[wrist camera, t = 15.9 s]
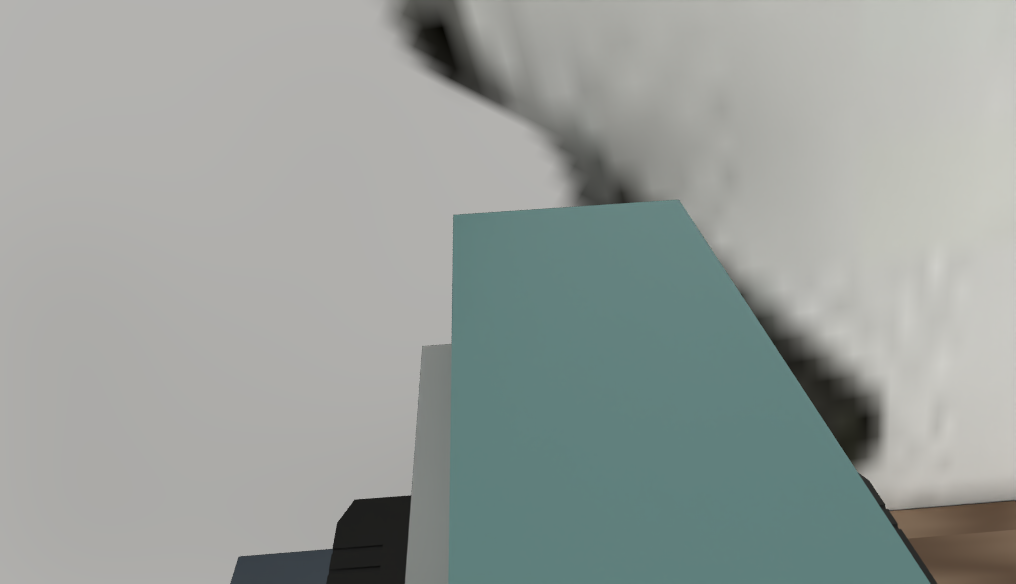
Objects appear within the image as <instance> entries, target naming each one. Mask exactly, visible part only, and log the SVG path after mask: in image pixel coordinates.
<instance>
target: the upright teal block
mask: <svg viewBox="0 0 1016 584" xmlns="http://www.w3.org/2000/svg"><path fill="white" fill-rule="evenodd" d="M452 288H453V289H452V355H451V428H450V500H449V573H448V584H930V582H929V581H928V579H927V578H926V576H925V574H924V573H923V571H922V570H921V568H920V567H919V565H918V564H917V562H916V561H915V559H914V558H913V556H912V555H911V553H910V552H909V550H908V549H907V547H906V545H905V544H904V542H903V541H902V539H901V538H900V536H899V535H898V533H897V532H896V530H895V529H894V527H893V526H892V524H891V523H890V521H889V520H888V518H887V516H886V515H885V513H884V512H883V510H882V509H881V507H880V506H879V504H878V503H877V501H876V500H875V498H874V497H873V495H872V494H871V492H870V491H869V489H868V488H867V486H866V484H865V483H864V481H863V480H862V478H861V477H860V475H859V474H858V472H857V471H856V469H855V468H854V466H853V465H852V463H851V462H850V460H849V459H848V457H847V455H846V454H845V452H844V451H843V449H842V448H841V446H840V445H839V443H838V442H837V440H836V439H835V437H834V436H833V434H832V433H831V431H830V430H829V428H828V427H827V425H826V423H825V422H824V420H823V419H822V417H821V416H820V414H819V413H818V411H817V410H816V408H815V407H814V405H813V404H812V402H811V401H810V399H809V398H808V396H807V394H806V393H805V391H804V390H803V388H802V387H801V385H800V384H799V382H798V381H797V379H796V378H795V376H794V375H793V373H792V372H791V370H790V369H789V367H788V366H787V364H786V362H785V361H784V359H783V358H782V356H781V355H780V353H779V352H778V350H777V349H776V347H775V346H774V344H773V343H772V341H771V340H770V338H769V337H768V335H767V333H766V332H765V330H764V329H763V327H762V326H761V324H760V323H759V321H758V320H757V318H756V317H755V315H754V314H753V312H752V311H751V309H750V308H749V306H748V305H747V303H746V301H745V300H744V298H743V297H742V295H741V294H740V292H739V291H738V289H737V288H736V286H735V285H734V283H733V282H732V280H731V279H730V277H729V276H728V274H727V272H726V271H725V269H724V268H723V266H722V265H721V263H720V262H719V260H718V259H717V257H716V256H715V254H714V253H713V251H712V250H711V248H710V247H709V245H708V244H707V242H706V240H705V239H704V237H703V236H702V234H701V233H700V231H699V230H698V228H697V227H696V225H695V224H694V222H693V221H692V219H691V218H690V216H689V215H688V213H687V211H686V210H685V208H684V207H683V205H682V204H681V202H680V201H679V200H667V201H652V202H637V203H622V204H608V205H593V206H578V207H563V208H549V209H534V210H520V211H504V212H490V213H475V214H460V215H454V217H453V283H452Z"/></svg>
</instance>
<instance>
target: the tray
mask: <svg viewBox="0 0 1016 584" xmlns="http://www.w3.org/2000/svg"><path fill="white" fill-rule="evenodd" d="M332 554H333V549H328V550H327V549H326V550H315V551H302V552H290V553H277V554H265V555H255V556H254V555H253V556H241V557H239V558H238V561H237V564H236V567H235V571H234V574H233V577H232V581H231V583H230V584H326V582H327V577H328V575H329V566H330V560H331V555H332Z"/></svg>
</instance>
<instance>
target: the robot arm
mask: <svg viewBox="0 0 1016 584" xmlns="http://www.w3.org/2000/svg"><path fill="white" fill-rule="evenodd" d="M451 355H452V344H445V345H431V346H422V358H421V372H420V385H419V400H418V413H417V426H416V427H417V428H416V440H415V453H414V467H413V481H412V495H411V496H398V497H385V498H372V499H359V500H354V501H353V503H352V504H351V506H350V507H349V508H348V510H347V511H346V512H345V513H344V515H343V516H342V518H341V519H340V520H339V521H338V523H337V528H336V533H335V538H334V544H333V554H332V555H331V560H330V566H329V575H328V577H327V582H326V584H448V573H449V500H450V428H451ZM858 474H859V473H858ZM859 475H860V477H861V478H862V480H863V481H864V483H865V484H866V486H867V488H868V489H869V491H870V492H871V494H872V495H873V497H874V498H875V500H876V501H877V503H878V504H879V506H880V507H881V509H882V510H883V512H884V513H885V515H886V516H887V518H888V520H889V521H890V523H891V524H892V526H893V527H894V529H895V530H896V532H897V533H898V535H899V536H900V538H901V539H902V541H903V542H904V544H905V545H906V547H907V549H908V550H909V552H910V553H911V555H912V556H913V558H914V559H915V561H916V562H917V564H918V565H919V567H920V568H921V570H922V571H923V573H924V574H925V576H926V578H927V579H928V581H929V582H930V584H937V582H936V581H935V579H934V578H933V576H932V575H931V573H930V571H929V570H928V568H927V567H926V565H925V564H924V562H923V561H922V559H921V558H920V556H919V555H918V553H917V552H916V550H915V549H914V547H913V546H912V544H911V543H910V541H909V540H908V538H907V537H906V535H905V534H904V532H903V531H902V529H899V528H898V523H897V522H896V520H895V519H894V517H893V516H892V514H891V513H890V511H889V510H888V509H886V508H885V504H884V502H883V501H882V499H881V498H880V496H879V495H878V493H877V492H876V490H875V489H874V487H873V486H872V484H871V483H870V481H869V480H867V479H866V478H865V477H863V476H862V475H861V474H859Z"/></svg>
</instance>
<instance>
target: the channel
mask: <svg viewBox="0 0 1016 584" xmlns="http://www.w3.org/2000/svg"><path fill="white" fill-rule="evenodd" d="M890 513H891V514H892V516H893V517H894V519H895V520H896V522H897V523H898V528H899V529H902V531H903V532H904V534H905V535H906V537H907V538H908V540H909V541H910V543H911V544H912V546H913V547H914V549H915V550H916V552H917V553H918V555H919V556H920V558H921V559H922V561H923V562H924V564H925V565H926V567H927V568H928V570H929V571H930V573H931V575H932V576H933V578H934V579H935V581H936V582H937V584H1016V501H1008V502H996V503H984V504H972V505H960V506H947V507H935V508H923V509H911V510H899V511H890Z"/></svg>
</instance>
